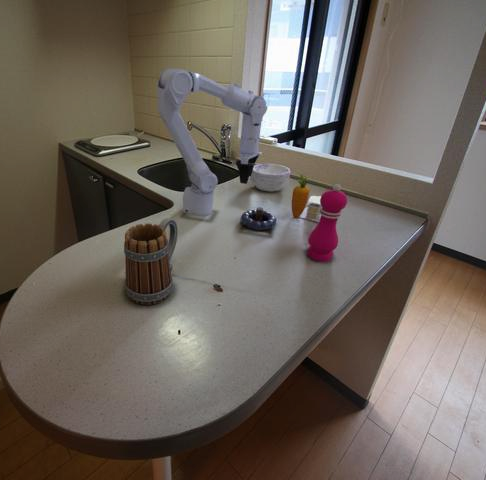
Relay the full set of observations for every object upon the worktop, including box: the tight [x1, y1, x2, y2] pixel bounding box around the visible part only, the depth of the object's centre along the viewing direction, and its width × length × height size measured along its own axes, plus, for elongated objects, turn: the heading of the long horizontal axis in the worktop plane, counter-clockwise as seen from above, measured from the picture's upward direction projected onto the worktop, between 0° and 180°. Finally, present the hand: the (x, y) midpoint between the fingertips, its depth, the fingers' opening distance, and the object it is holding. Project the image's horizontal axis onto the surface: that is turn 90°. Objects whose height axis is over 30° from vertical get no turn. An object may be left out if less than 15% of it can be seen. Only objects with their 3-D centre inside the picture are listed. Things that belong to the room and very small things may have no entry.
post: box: [240, 206, 273, 234], centre depth 96 cm, size 9×9×6 cm
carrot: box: [291, 173, 311, 220], centre depth 99 cm, size 5×5×15 cm
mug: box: [123, 217, 179, 306], centre depth 69 cm, size 16×11×15 cm
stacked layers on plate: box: [299, 195, 322, 223], centre depth 105 cm, size 10×9×6 cm
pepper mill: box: [306, 183, 348, 263], centre depth 80 cm, size 7×7×20 cm
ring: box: [240, 209, 277, 230], centre depth 96 cm, size 11×11×2 cm
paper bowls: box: [249, 163, 291, 192], centre depth 125 cm, size 15×15×8 cm
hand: (245, 179), depth 105 cm, fingers open, 7 cm apart
